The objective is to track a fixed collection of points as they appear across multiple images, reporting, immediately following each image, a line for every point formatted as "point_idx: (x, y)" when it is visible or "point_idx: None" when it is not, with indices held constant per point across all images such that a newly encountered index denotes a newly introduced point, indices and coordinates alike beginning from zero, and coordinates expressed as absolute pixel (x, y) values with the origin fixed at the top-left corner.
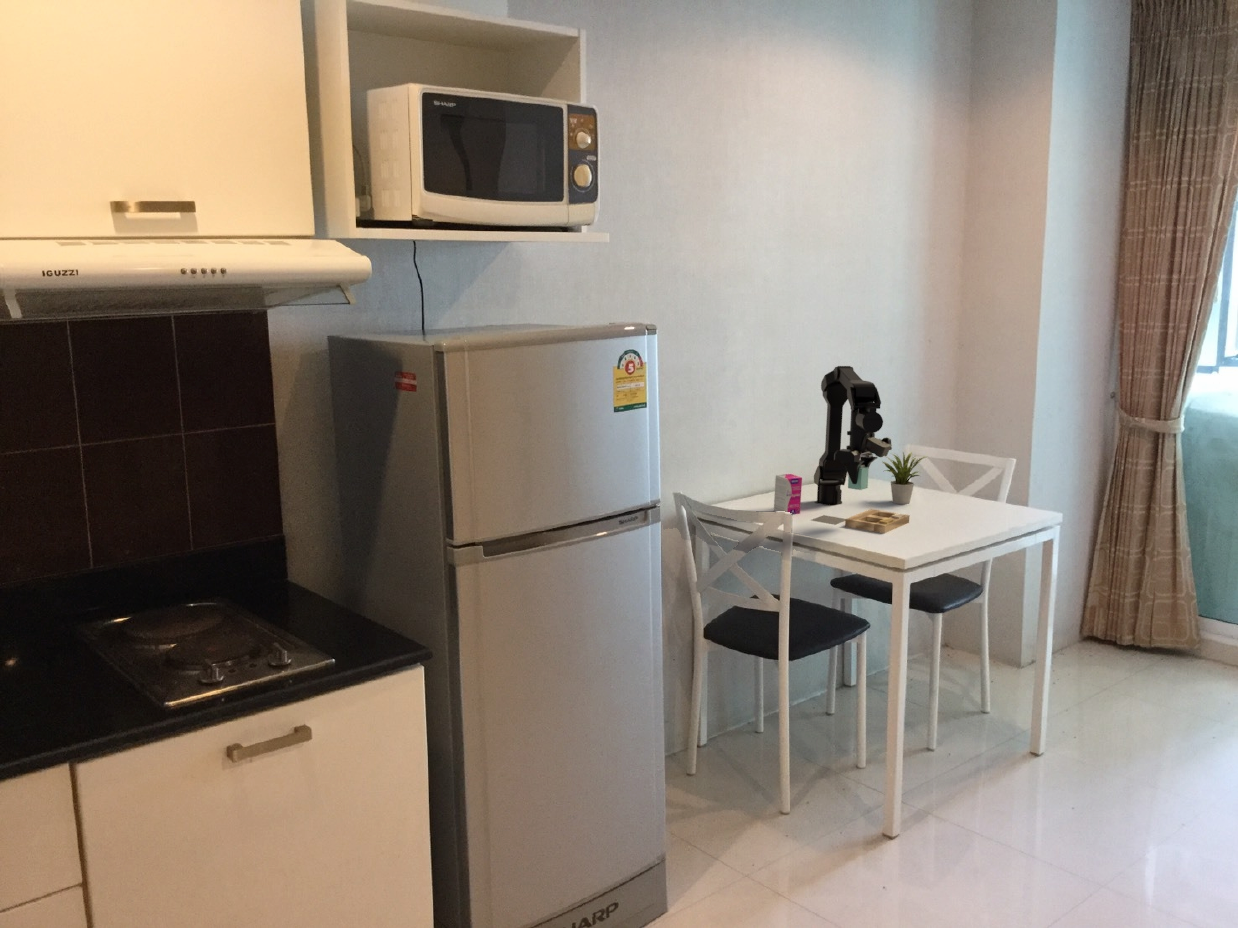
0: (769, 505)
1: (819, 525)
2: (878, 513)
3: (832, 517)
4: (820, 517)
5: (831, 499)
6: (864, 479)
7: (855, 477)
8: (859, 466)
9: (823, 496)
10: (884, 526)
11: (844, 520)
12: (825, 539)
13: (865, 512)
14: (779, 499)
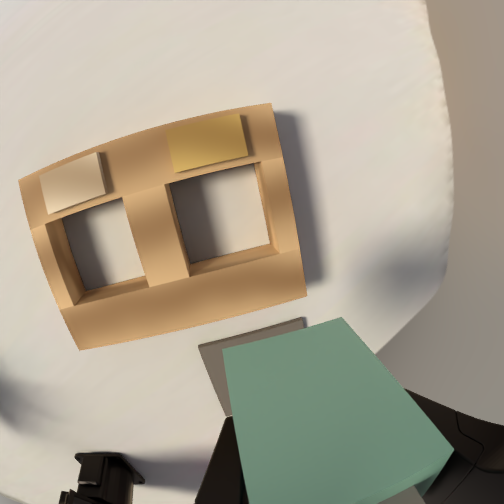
0: None
1: None
2: (81, 301)
3: (226, 388)
4: None
5: (113, 471)
6: (317, 388)
7: (418, 400)
8: (481, 465)
9: (129, 486)
10: (270, 106)
11: (225, 344)
12: (444, 213)
13: (138, 328)
14: None
